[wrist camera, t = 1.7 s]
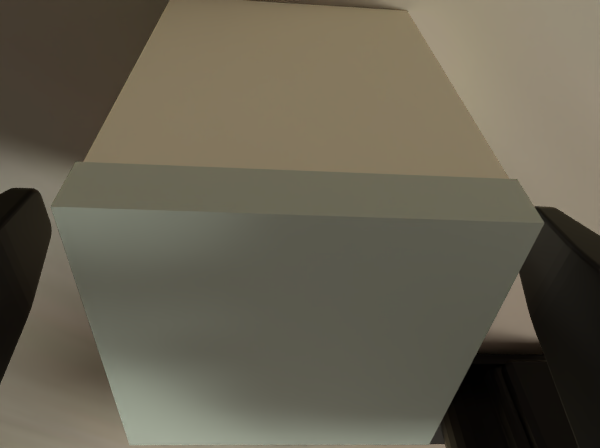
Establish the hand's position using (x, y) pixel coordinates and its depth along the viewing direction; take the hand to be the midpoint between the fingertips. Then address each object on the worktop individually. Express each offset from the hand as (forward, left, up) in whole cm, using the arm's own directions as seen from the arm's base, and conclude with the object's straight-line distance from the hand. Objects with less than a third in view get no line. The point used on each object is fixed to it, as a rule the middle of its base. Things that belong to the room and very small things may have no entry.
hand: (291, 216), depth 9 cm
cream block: (0, 0, -4) cm, 4 cm away
